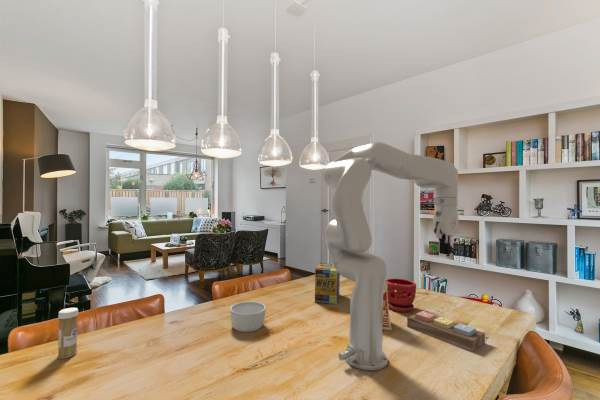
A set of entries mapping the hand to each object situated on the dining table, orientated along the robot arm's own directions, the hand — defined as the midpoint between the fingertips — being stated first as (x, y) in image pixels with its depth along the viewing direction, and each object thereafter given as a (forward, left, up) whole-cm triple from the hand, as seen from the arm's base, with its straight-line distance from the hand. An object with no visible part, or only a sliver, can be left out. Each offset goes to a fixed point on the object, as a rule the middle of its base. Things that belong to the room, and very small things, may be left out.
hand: (444, 253), depth 104 cm
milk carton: (-12, +19, -29) cm, 37 cm away
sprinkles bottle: (-107, +58, -29) cm, 125 cm away
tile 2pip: (0, 0, -28) cm, 28 cm away
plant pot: (+10, +24, -29) cm, 39 cm away
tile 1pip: (0, -7, -28) cm, 28 cm away
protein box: (-8, +52, -29) cm, 61 cm away
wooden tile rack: (0, 0, -29) cm, 29 cm away
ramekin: (-54, +46, -29) cm, 77 cm away
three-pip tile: (0, +7, -28) cm, 28 cm away
